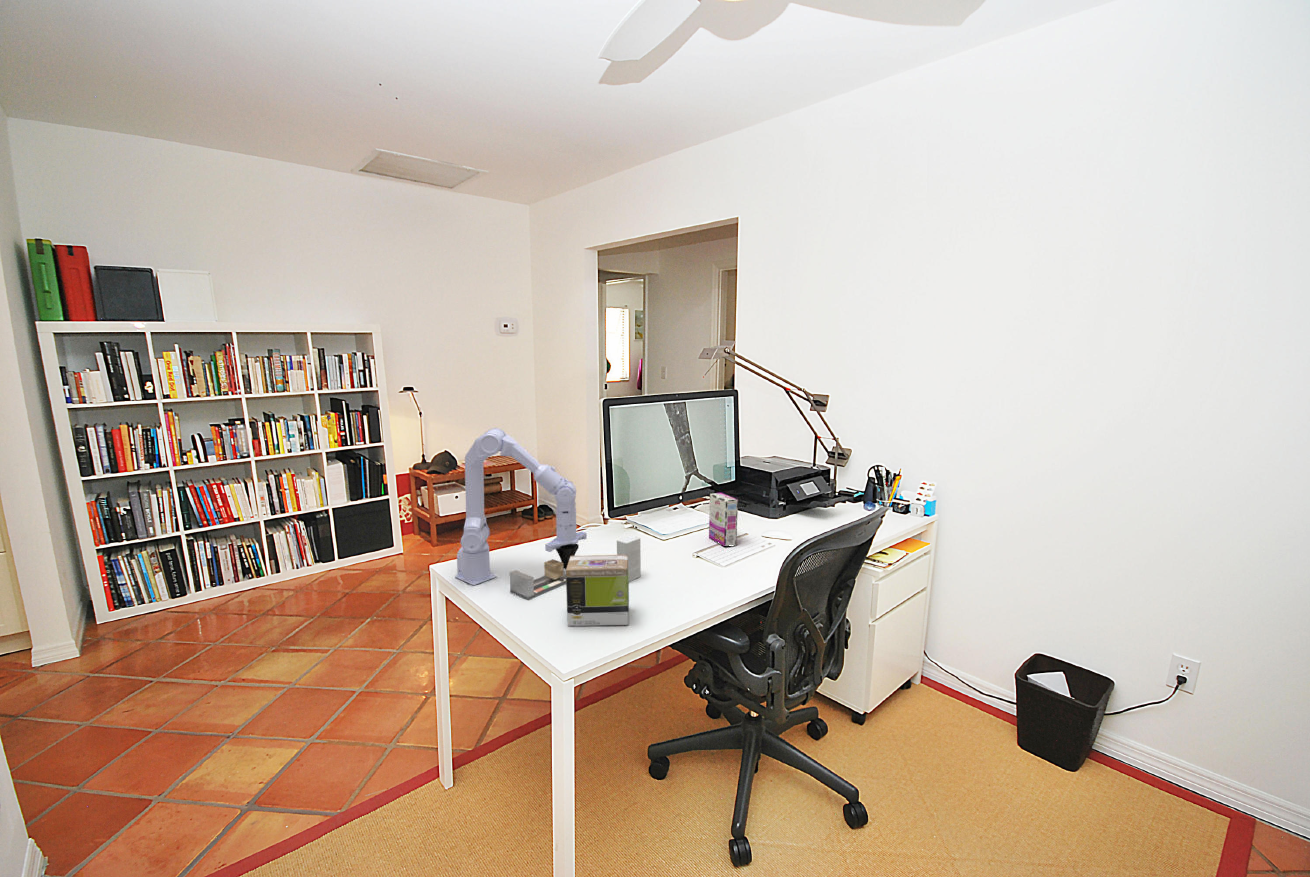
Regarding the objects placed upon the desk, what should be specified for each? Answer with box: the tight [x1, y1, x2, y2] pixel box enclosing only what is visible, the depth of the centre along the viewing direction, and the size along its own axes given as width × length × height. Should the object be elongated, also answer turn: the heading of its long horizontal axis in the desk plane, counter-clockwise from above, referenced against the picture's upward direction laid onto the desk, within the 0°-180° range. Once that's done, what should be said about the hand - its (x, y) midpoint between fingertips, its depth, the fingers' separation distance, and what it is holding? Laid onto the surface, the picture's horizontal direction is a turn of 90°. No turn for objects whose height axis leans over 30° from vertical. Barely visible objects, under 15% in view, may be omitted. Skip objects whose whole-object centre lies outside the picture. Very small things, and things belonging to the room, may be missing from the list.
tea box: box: [565, 554, 630, 627], centre depth 141 cm, size 15×10×15 cm
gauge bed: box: [509, 569, 566, 601], centre depth 159 cm, size 15×8×6 cm, turn 142°
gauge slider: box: [543, 558, 565, 581], centre depth 162 cm, size 4×6×4 cm, turn 52°
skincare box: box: [616, 534, 642, 582], centre depth 165 cm, size 6×4×12 cm
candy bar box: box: [708, 492, 739, 547], centre depth 196 cm, size 11×5×16 cm, turn 25°
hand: (567, 568), depth 167 cm, fingers closed
